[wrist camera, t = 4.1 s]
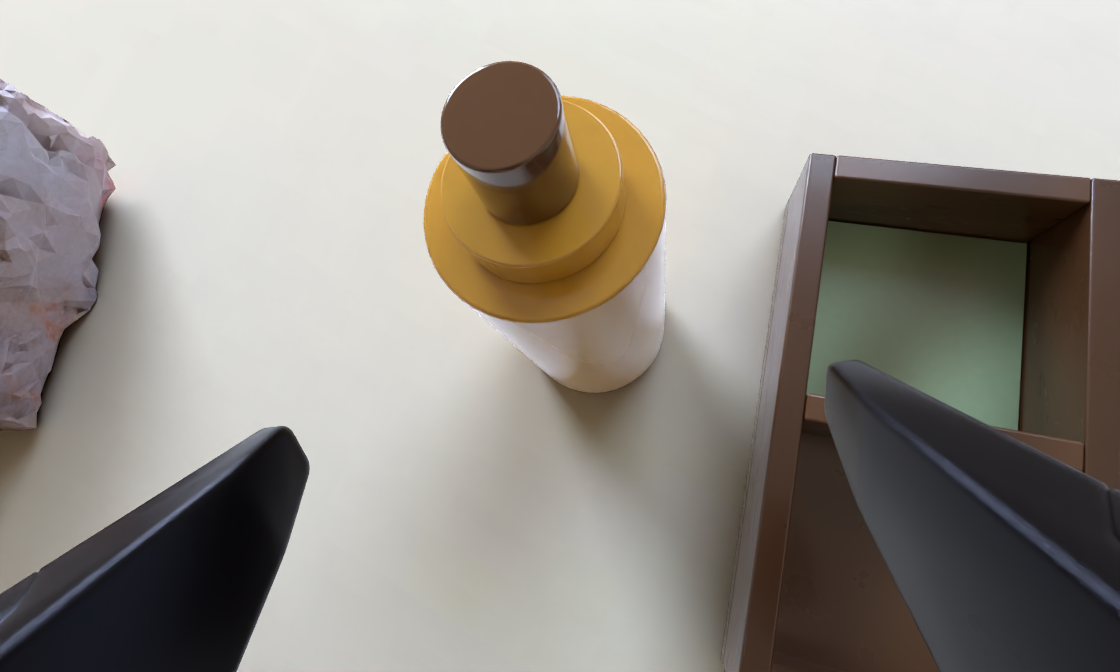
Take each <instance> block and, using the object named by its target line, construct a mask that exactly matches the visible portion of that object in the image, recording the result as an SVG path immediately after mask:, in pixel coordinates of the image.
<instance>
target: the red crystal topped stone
mask: <svg viewBox="0 0 1120 672" xmlns="http://www.w3.org/2000/svg"><path fill="white" fill-rule="evenodd" d="M114 166H115V163H114V162H113V161H112V160H111V158H110V157H109V155H108V152H107V150H106V148H105V146H104V144H103V143H102V142H101V140H100V139H96V138H95V137H93V136H92V137H89V138H88V137H87V136H85V135H84V134H82V133H81V132H79V131H78V130H77V129H75V127H73V126H72V125H71V124H70V123H69V122H67V121H66V120H64V119H63V118H61V117H59V116H58V115H56V114H54V113H52V112H51V111H49V110H48V109H47V108H45V107H44V106H42V105H40V104H38V103H36V102H34V101H33V100H31V99H30V98H29V97H28V96H26V95H24V94H22V93H21V92H19V91H17V90H16V89H15V88H13V87H12V86H11V85H10V84H7V83H5V82H4V81H2V80H1V79H0V430H15V431H20V430H24V429H31V428H36V427H37V411H38V409H39V407H40V405H41V403H42V401H41V396H40V394H41V392H42V389H43V386H44V383H45V380H46V378H47V376H48V373H49V372H50V371H51V369H52V365H53V361H54V358H55V354H56V351H57V347H58V344H59V340H60V338H61V335H62V333H63V331H64V329H65V328H66V327H68V326H69V325H70V324H72V323H73V322H74V321H76V320H77V319H79V318H80V317H81V316H83V315H84V314H85V313H87V312H88V311H89V310H90V309H91V307H92V305H93V304H94V303H95V301H96V299H97V296H98V294H97V291H96V289H95V287H96V282H97V278H98V273H99V270H98V269H97V267H96V265H95V264H94V262H93V260H92V258H93V256H94V255H95V253H96V251H97V250H98V248H99V246H100V237H101V233H100V229H99V221H100V218H101V213H102V209H103V207H104V205H105V203H106V201H107V199H108V197H109V196H110V195H111V194H112V192H113V191H114V190H115V186H114V184H113V181H112V179H111V178H110V176H109V174H108V172H107V171H108V170H110V169H111V168H113V167H114Z"/></svg>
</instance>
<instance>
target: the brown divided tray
mask: <svg viewBox="0 0 1120 672" xmlns="http://www.w3.org/2000/svg"><path fill="white" fill-rule="evenodd" d="M847 360H859V361H862V362H864V363H866V364H868V365H870V366H872V367H874V368H876V369H878V370H880V371H882V372H884V373H886V374H888V375H890V376H892V377H894V378H896V379H898V380H900V381H902V382H904V383H906V384H908V385H910V386H912V387H914V388H916V389H918V390H920V391H922V392H924V393H926V394H928V395H930V396H932V397H934V398H936V399H938V400H940V401H942V402H944V403H946V404H948V405H950V406H952V407H954V408H955V409H957V410H959V411H961V412H963V413H965V414H967V415H969V416H971V417H973V418H975V419H977V420H979V421H981V422H983V423H985V424H987V425H989V426H991V427H993V428H995V429H997V430H999V431H1001V432H1003V433H1005V434H1007V435H1009V436H1011V437H1013V438H1015V439H1017V440H1019V441H1021V442H1023V443H1025V444H1027V445H1029V446H1031V447H1033V448H1035V449H1037V450H1039V451H1041V452H1043V453H1045V454H1047V455H1049V456H1051V457H1053V458H1055V459H1057V460H1059V461H1061V462H1063V463H1065V464H1067V465H1069V466H1071V467H1073V468H1075V469H1077V470H1079V471H1081V472H1083V473H1085V474H1087V475H1089V476H1091V477H1093V478H1095V479H1097V480H1099V481H1101V482H1103V483H1105V484H1106V485H1107V487H1108V489H1110V488H1115V489H1117V490H1119V491H1120V181H1117V180H1106V179H1091V180H1090V178H1083V177H1072V176H1060V175H1049V174H1038V173H1027V172H1016V171H1005V170H994V169H983V168H971V167H960V166H949V165H938V164H927V163H916V162H905V161H893V160H882V159H871V158H860V157H849V156H837V158H836V156H834V155H825V154H814V153H813V154H810V155H809V157H808V160H807V162H806V164H805V166H804V168H803V170H802V173H801V175H800V177H799V179H798V181H797V183H796V185H795V188H794V190H793V192H792V194H791V196H790V198H789V200H788V202H787V204H786V209H785V216H784V223H783V230H782V237H781V244H780V251H779V258H778V265H777V272H776V279H775V286H774V293H773V300H772V307H771V314H770V321H769V327H768V334H767V341H766V348H765V355H764V362H763V369H762V376H761V383H760V390H759V397H758V404H757V411H756V418H755V425H754V432H753V439H752V446H751V453H750V460H749V467H748V474H747V481H746V488H745V494H744V501H743V508H742V515H741V522H740V529H739V536H738V543H737V550H736V557H735V564H734V571H733V578H732V585H731V592H730V599H729V606H728V613H727V620H726V627H725V634H724V641H723V648H722V654H721V660H722V664H723V665H724V669H725V672H940V671H939V669H938V667H937V665H936V663H935V661H934V659H933V657H932V655H931V653H930V651H929V649H928V647H927V645H926V643H925V641H924V639H923V637H922V635H921V633H920V631H919V629H918V627H917V625H916V623H915V621H914V619H913V617H912V615H911V613H910V611H909V609H908V607H907V605H906V603H905V601H904V599H903V597H902V595H901V593H900V591H899V589H898V587H897V585H896V583H895V581H894V579H893V577H892V575H891V573H890V571H889V569H888V568H887V566H886V564H885V562H884V560H883V558H882V556H881V554H880V552H879V550H878V548H877V546H876V544H875V542H874V540H873V538H872V536H871V534H870V532H869V530H868V528H867V526H866V524H865V522H864V519H863V517H862V515H861V513H860V511H859V509H858V506H857V504H856V501H855V499H854V496H853V493H852V491H851V488H850V485H849V482H848V479H847V477H846V474H845V471H844V468H843V465H842V463H841V460H840V457H839V454H838V451H837V448H836V446H835V443H834V440H833V437H832V434H831V432H830V429H829V426H828V423H827V420H826V416H825V410H824V401H825V385H826V371H827V368H828V365H829V364H831V363H832V362H839V361H847Z"/></svg>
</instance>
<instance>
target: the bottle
mask: <svg viewBox="0 0 1120 672" xmlns="http://www.w3.org/2000/svg"><path fill="white" fill-rule="evenodd" d="M441 135H442V139H443V143H444V145H445V147H446V149H447V152H446V154H445V155H444V156H443V158H442V160H441V161H440V163H439V165H438V167H437V168H436V171H435V173H434V175H433V177H432V180H431V182H430V185H429V189H428V192H427V195H426V202H425V208H424V232H425V240H426V244H427V248H428V252H429V255H430V257H431V260H432V262H433V265H434V267H435V269H436V270H437V272H438V274H439V275H440V277H441V279H442V280H443V281H444V282H445V284H446V285H447V286H448V287H449V289H450V290H451V291H452V292H453V293H454V294H455V295H457V296H458V297H459V298H460V299H461V300H462V301H463V302H464V303H465V304H467V305H468V306H469V307H470V308H471V309H472V310H474V311H475V312H476V313H477V314H478V315H479V316H481V317H482V318H483V319H484V320H485V321H486V322H487V323H489V324H490V325H491V326H492V327H493V328H494V329H496V330H497V331H498V332H499V333H500V334H501V335H502V336H504V337H505V338H506V339H507V340H508V341H509V342H511V343H512V344H513V345H514V346H515V347H516V348H518V349H519V350H520V351H521V352H522V353H523V354H524V355H526V356H527V357H528V358H529V359H530V360H531V361H533V362H534V363H535V364H536V365H537V366H538V367H540V368H541V369H542V370H543V371H544V372H545V373H546V374H548V375H549V376H550V377H551V378H552V379H554V380H555V381H557V382H558V383H560V384H562V385H564V386H566V387H568V388H571V389H573V390H577V391H582V392H590V393H598V392H606V391H612V390H615V389H618V388H621V387H623V386H625V385H627V384H629V383H631V382H632V381H634V380H635V379H637V378H638V377H639V376H640V375H641V374H643V373H644V372H645V371H646V370H647V368H648V367H649V366H650V365H651V363H652V362H653V361H654V359H655V357H656V355H657V353H658V351H659V349H660V346H661V343H662V340H663V335H664V324H665V255H666V188H665V181H664V176H663V172H662V168H661V166H660V163H659V161H658V158H657V156H656V154H655V152H654V150H653V149H652V147H651V145H650V144H649V142H648V141H647V139H646V138H645V137H644V136H643V134H642V133H641V132H640V131H639V130H638V129H637V128H636V127H635V126H634V125H633V124H632V123H631V122H630V121H628V120H627V119H626V118H624V117H623V116H621V115H620V114H619V113H617V112H616V111H614V110H612V109H610V108H608V107H606V106H604V105H601V104H598V103H596V102H593V101H590V100H586V99H581V98H576V97H568V96H561V95H560V93H559V90H558V88H557V86H556V85H555V83H554V82H553V81H552V79H551V78H550V77H549V76H548V75H546V74H545V73H544V72H543V71H541V70H540V69H538V68H536V67H534V66H532V65H529V64H526V63H522V62H515V61H503V62H497V63H493V64H489V65H486V66H484V67H481V68H479V69H477V70H475V71H473V72H472V73H470V74H469V75H467V76H466V77H465V78H464V79H463V80H461V81H460V82H459V83H458V85H457V86H456V87H455V88H454V89H453V91H452V92H451V93H450V95H449V97H448V98H447V100H446V103H445V105H444V108H443V111H442V116H441Z"/></svg>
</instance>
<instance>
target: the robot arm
mask: <svg viewBox="0 0 1120 672" xmlns="http://www.w3.org/2000/svg"><path fill="white" fill-rule="evenodd" d="M824 410H825V416H826V420H827V423H828V426H829V429H830V432H831V434H832V437H833V440H834V443H835V446H836V448H837V451H838V454H839V457H840V460H841V463H842V465H843V468H844V471H845V474H846V477H847V479H848V482H849V485H850V488H851V491H852V493H853V496H854V499H855V501H856V504H857V506H858V509H859V511H860V513H861V515H862V517H863V519H864V522H865V524H866V526H867V528H868V530H869V532H870V534H871V536H872V538H873V540H874V542H875V544H876V546H877V548H878V550H879V552H880V554H881V556H882V558H883V560H884V562H885V564H886V566H887V568H888V569H889V571H890V573H891V575H892V577H893V579H894V581H895V583H896V585H897V587H898V589H899V591H900V593H901V595H902V597H903V599H904V601H905V603H906V605H907V607H908V609H909V611H910V613H911V615H912V617H913V619H914V621H915V623H916V625H917V627H918V629H919V631H920V633H921V635H922V637H923V639H924V641H925V643H926V645H927V647H928V649H929V651H930V653H931V655H932V657H933V659H934V661H935V663H936V665H937V667H938V669H939V671H940V672H1120V491H1119V490H1117V489H1115V488H1110V489H1108V487H1107V485H1106V484H1105V483H1103V482H1101V481H1099V480H1097V479H1095V478H1093V477H1091V476H1089V475H1087V474H1085V473H1083V472H1081V471H1079V470H1077V469H1075V468H1073V467H1071V466H1069V465H1067V464H1065V463H1063V462H1061V461H1059V460H1057V459H1055V458H1053V457H1051V456H1049V455H1047V454H1045V453H1043V452H1041V451H1039V450H1037V449H1035V448H1033V447H1031V446H1029V445H1027V444H1025V443H1023V442H1021V441H1019V440H1017V439H1015V438H1013V437H1011V436H1009V435H1007V434H1005V433H1003V432H1001V431H999V430H997V429H995V428H993V427H991V426H989V425H987V424H985V423H983V422H981V421H979V420H977V419H975V418H973V417H971V416H969V415H967V414H965V413H963V412H961V411H959V410H957V409H955V408H954V407H952V406H950V405H948V404H946V403H944V402H942V401H940V400H938V399H936V398H934V397H932V396H930V395H928V394H926V393H924V392H922V391H920V390H918V389H916V388H914V387H912V386H910V385H908V384H906V383H904V382H902V381H900V380H898V379H896V378H894V377H892V376H890V375H888V374H886V373H884V372H882V371H880V370H878V369H876V368H874V367H872V366H870V365H868V364H866V363H864V362H862V361H859V360H847V361H839V362H832V363H831V364H829V365H828V368H827V371H826V385H825V401H824ZM308 475H309V461H308V459H307V457H306V455H305V453H304V451H303V450H302V448H301V446H300V444H299V442H298V441H297V439H296V437H295V435H294V434H293V432H292V431H291V430H290V429H289V428H288V427H285V426H278V427H269V428H264V429H261V430H259V431H258V432H256V433H255V434H253V435H251V436H250V437H248V438H247V439H245V440H244V441H242V442H240V443H239V444H237V445H236V446H234V447H232V448H231V449H229V450H228V451H226V452H225V453H223V454H221V455H220V456H218V457H217V458H215V459H213V460H212V461H210V462H209V463H207V464H206V465H204V466H202V467H201V468H199V469H198V470H196V471H194V472H193V473H191V474H190V475H188V476H187V477H185V478H183V479H182V480H180V481H179V482H177V483H175V484H174V485H172V486H171V487H169V488H168V489H166V490H164V491H163V492H161V493H160V494H158V495H156V496H155V497H153V498H152V499H150V500H149V501H147V502H145V503H144V504H142V505H141V506H139V507H137V508H136V509H134V510H133V511H131V512H130V513H128V514H126V515H125V516H123V517H122V518H120V519H118V520H117V521H115V522H114V523H112V524H111V525H109V526H107V527H106V528H104V529H103V530H101V531H100V532H98V533H96V534H95V535H93V536H92V537H90V538H88V539H87V540H85V541H84V542H82V543H81V544H79V545H77V546H76V547H74V548H73V549H71V550H69V551H68V552H66V553H65V554H63V555H62V556H60V557H58V558H57V559H55V560H54V561H52V562H50V563H49V564H47V565H46V566H44V567H43V568H41V569H40V571H39V572H35V573H33V574H31V575H30V576H28V577H27V578H25V579H23V580H22V581H20V582H19V583H17V584H15V585H14V586H12V587H11V588H9V589H8V590H6V591H4V592H3V593H1V594H0V672H237V669H238V667H239V664H240V662H241V659H242V657H243V654H244V652H245V650H246V647H247V645H248V642H249V640H250V637H251V635H252V633H253V630H254V628H255V625H256V623H257V620H258V618H259V616H260V613H261V611H262V608H263V606H264V603H265V601H266V598H267V596H268V594H269V591H270V589H271V586H272V584H273V581H274V579H275V577H276V574H277V572H278V569H279V567H280V564H281V562H282V559H283V556H284V554H285V551H286V548H287V545H288V542H289V539H290V535H291V532H292V529H293V525H294V522H295V519H296V515H297V512H298V509H299V505H300V502H301V499H302V495H303V492H304V489H305V485H306V482H307V479H308Z"/></svg>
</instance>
